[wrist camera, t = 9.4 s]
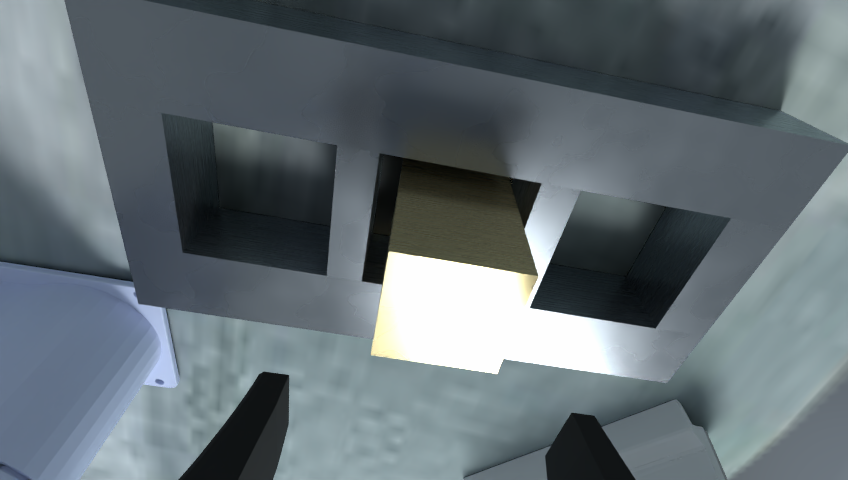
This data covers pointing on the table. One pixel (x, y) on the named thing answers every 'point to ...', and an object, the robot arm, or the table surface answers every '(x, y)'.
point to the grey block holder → (436, 143)
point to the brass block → (453, 269)
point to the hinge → (638, 449)
